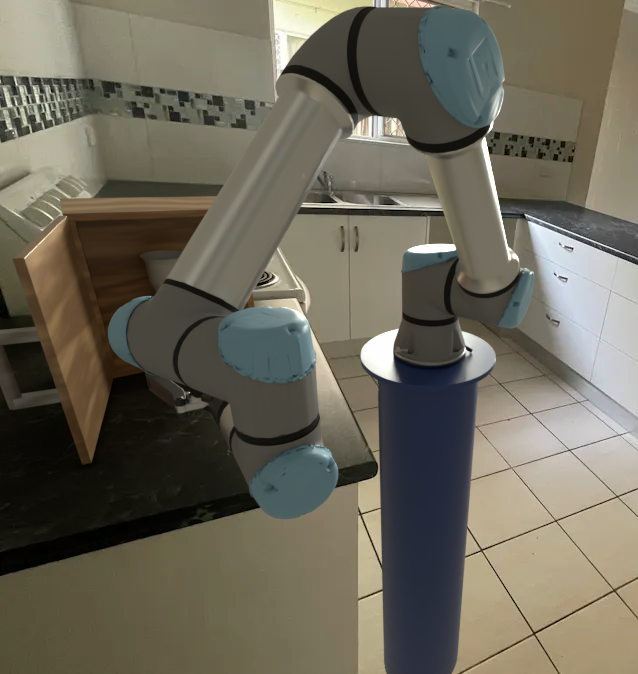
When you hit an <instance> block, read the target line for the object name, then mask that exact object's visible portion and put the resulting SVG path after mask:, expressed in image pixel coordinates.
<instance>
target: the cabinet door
mask: <svg viewBox="0 0 638 674" xmlns="http://www.w3.org/2000/svg"><path fill="white" fill-rule="evenodd" d="M12 262H13V266H14V267H15V271H16V274H17V277H18V280H19V283H20V285H21V288H22V292H23V294H24V297H25V300H26V304H27V307H28V309H29V312H30V315H31V318H32V322H33V325H34V326H28V327H17V328H9V329H7V328H5V329H0V389H1V392H2V394H3V396H4V398H5V402H6V404H7V406H8V410H11V411H17V410H22V409H29V408H34V407H39V406H41V407H42V406H47V405H53V404H58V403H59V404H61V407H62V410H63V413H64V415H65V418H66V422H67V425H68V427H69V430H70V433H71V436H72V439H73V442H74V445H75V448H76V450H77V454H78V456H79V459H80V462H81V465H83V466H84V465H88V464H92V463H93V462H92V461H93V459H94V454H95V451H96V447H97V444H98V439H99V434H100V432H101V427H102V423H103V420H104V418H105V417H104V416H105V413H106V408H107V405H108V402H109V397H110V394H111V389H112V385H113V382H114V378H113V377H112V374H111V370H110V367H109V363H108V359H107V356H106V352H105V349H104V345H103V342H102V338H101V335H100V331H99V327H98V324H97V320H96V317H95V313H94V310H93V306H92V303H91V299H90V295H89V292H88V288H87V285H86V281H85V278H84V274H83V271H82V267H81V263H80V260H79V256H78V253H77V249H76V246H75V242H74V239H73V235H72V231H71V228H70V224H69V221H68V217H67V216H63V215H57V217H56V218H54V220H52V221H51V222H50V223H49V224H48V225H47V226H46V227H45V228H44V229H42V231H40V233H38V234H37V235H36V236H35V237H34V238H33V239H32V240H30V242H29V243H28V244H26V245H25V246H24V248H22V249H21V250H20V251H19V252H18V253H17V254H15V256H14V257H13V258H12ZM35 342H36V343H37V342H40V345H41V347H42V351H43V354H44V356H45V360H46V362H47V365H48V368H49V371H50V374H51V377H52V380H53V383H54V385H55V388H51V389H45V390H37V391H31V392H30V391H29V392H24V393H21V390H20V388H19V384H18V382H17V380H16V377H15V374H14V371H13V369H12V366H11V363H10V360H9V358H8V355H7V352H6V350H5V347H4V346H6V345H7V346H8V345H16V344H17V345H18V344H25V343H35Z"/></svg>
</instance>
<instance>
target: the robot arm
mask: <svg viewBox="0 0 638 674" xmlns="http://www.w3.org/2000/svg"><path fill="white" fill-rule="evenodd" d="M504 71H505V69H504V62H503V56H502V53H501V50H500V45H499V43H498V40H497V37H496V35H495V34H494V32H493V29H492V28H491V26H490V25H489V23H488V22H487V21H486V20H485V19H483V18H482V17H480V15H479V14H478V13H477V12H475V11H472V10H469V9H463V8H452V7H450V6H446V5H434V6H432V7H431V6H430V7H428V6H426V7H424V6H423V7H420V6H419V7H418V6H417V7H415V6H414V7H411V6H409V7H406V6H405V7H404V6H401V7H399V6H396V7H395V6H393V7H392V6H389V7H388V6H379V7H376V6H373V5H371V6H369V5H367V6H365V5H363V6H356V7H352V8H350V9H347V10H344V11H342V12H340V13H338V14H337V15H335V16H333V17H331V18H330V19H328V21H326V22H325V23H324V24H322V25H321V26H320V27H319V28H317V29H316V30H315V31H314V32H313V33H311V35H310V36H309V37H308V38H307V39H306V40H305V41H304V42H303V43H302V44H301V45H300V46H299V48H298V49H297V50H296V51H295V52H294V53H293V55H292V56H291V57H290V59H289V61H287V64H286V65H285V67H284V68H283V70H282V72H281V73H280V74H279V76H278V78H277V80H276V82H275V85H274V87H275V92H276V95H277V98H276V100H275V102H274V104H273V105H272V107H271V108H270V110H269V111H268V114H267V115H266V116H265V118H264V120H263V121H262V123H261V125H260V126H259V128H258V129H257V130H256V132H255V134H254V135H253V138H251V140H250V141H249V144H248V145H247V147H246V149H245V150H244V152H243V153H242V155H241V157H240V158H239V160H238V161H237V162H236V165H235V166H234V168H233V169H232V171H231V173H230V174H229V176H228V177H227V179H226V181H225V182H224V184H223V186H222V187H221V189H220V190H219V192H218V193H217V195H216V196H217V197H216V198H215V200H214V202H213V203H212V205H211V206H210V208H209V210H208V211H207V213H206V214H205V216H204V218H203V219H202V221H201V222H200V224H199V226H198V227H197V229H196V231H195V232H194V234H193V235H192V237H191V239H190V240H189V242H188V243H187V245H186V247H185V248H184V250H183V251H182V253H181V255H180V256H179V258H178V259H177V261H176V263H175V264H174V266H173V267H172V269H171V271H170V272H169V274H168V275H167V277H166V279H165V281H164V283H163V284H162V285H161V287H160V288H159V290H158V291H157V293H156V294H155V296H144V297H139V298H135V299H133V300H131V301H130V302H128V303H126V304H125V305H123V306H122V307H120V308H119V309H118V310H117V311H116V312H115V314H114V315H113V317H112V318H111V321H110V323H109V327H108V339H109V343H110V346H111V348H112V349H113V351H114V352H115V353H116V354H117V356H119V357H120V358H121V359H122V360H124V361H126V362H128V363H129V364H131V365H133V366H136V367H138V368H140V369H142V370H144V372H143V373H144V376H145V379H146V383H147V387H148V390H149V391H150V392H151V393H152V394H154V395H155V396H156V397H158V398H159V399H160V400H162V401H163V402H165V404H167V405H169V407H171V408H172V409H174V410H175V413H176V417H177V419H179V420H184V419H187V418H189V417H190V416H191V415H190V412H192V411H196V410H202V409H204V410H205V411H207V412H210V413H211V415H212V417H213V419H214V421H215V423H216V425H217V427H218V428H219V431H220V433H221V435H222V437H223V439H224V441H225V443H226V445H227V447H228V448H229V451H230V453H231V454H232V456H233V457H234V460H235V461H236V463H237V466H238V468H239V469H240V472H241V473H242V475H243V477H244V480H245V482H246V485H247V486H248V491H249V494H250V497H251V498H253V499H254V501H255V502H256V503H257V505H258V506H259V507H260V509H261V510H262V511H263V512H264V514H266V515H267V516H269V517H271V518H274V519H277V520H293V519H298V518H300V517H303V516H306V515H307V514H310V513H313V512H314V511H315V510H317V509H318V508H320V507H321V506H322V505H324V503H325V502H327V500H328V499H329V498H330V496H331V495H332V494H333V492H334V491H335V488H336V487H337V484H338V480H339V468H338V465H337V463H336V461H335V459H334V458H333V453H332V452H331V450H330V449H329V448H328V447H326V446H325V445H324V441H323V432H322V422H321V414H320V409H319V396H318V381H317V366H316V363H317V353H316V350H315V349H314V344H313V338H312V331H311V325H310V322H309V320H308V318H306V316H305V315H304V314H303V313H301V312H300V311H297V310H295V309H292V308H289V307H284V306H278V307H271V306H269V305H262V306H261V305H260V306H255V307H253V308H247V309H243V308H244V307H245V305H246V303H247V301H248V300H249V298H250V296H251V294H252V292H253V293H254V290H255V289H256V287H257V286H258V283H259V282H260V280H261V278H262V277H263V275H264V274H265V271H266V269H267V267H268V266H269V264H270V262H271V261H272V258H273V257H274V255H275V253H276V252H277V250H278V248H279V246H280V245H281V242H283V239H284V238H285V235H286V234H287V232H288V231H289V229H290V227H291V225H292V223H293V221H294V219H295V218H296V216H297V214H298V212H299V211H300V209H301V207H302V205H303V204H304V202H305V200H306V198H307V196H308V195H309V193H310V192H311V189H312V187H313V186H314V184H315V182H316V181H317V179H318V177H319V175H320V173H321V171H322V170H323V168H324V167H325V164H326V163H327V161H328V159H329V157H330V156H331V154H332V151H333V150H334V148H335V146H336V145H337V143H338V142H339V141H342V140H347V139H349V138H350V137H351V136H352V135H353V133H354V132H355V129H356V128H357V126H358V124H359V123H360V122H361V121H363V120H365V119H367V118H371V117H381V118H387V119H388V118H390V119H397V120H398V121H399V122H400V124H401V127H402V131H403V132H404V135H405V138H406V141H407V143H408V146H410V148H412V149H413V150H414V151H416V152H418V153H421V154H423V155H424V158H425V161H426V165H427V168H428V170H429V173H430V176H431V179H432V183H433V185H434V188H435V191H436V194H437V197H438V200H439V203H440V206H441V209H442V212H443V215H444V218H445V221H446V224H447V228H448V230H449V233H450V236H451V239H452V242H453V244H452V243H451V244H449V243H432V244H423V245H422V244H421V245H417V246H413V247H411V248H408V249H407V250H406V251H404V253H403V254H402V263H401V270H400V273H401V321H400V323H399V327H398V328H397V329H398V332H397V335H396V338H395V340H394V344H393V355H394V357H395V358H396V359H397V360H398V361H399V362H401V363H403V364H405V365H407V366H411V367H415V368H421V369H440V368H446V367H450V366H453V365H455V364H458V363H459V362H461V361H462V360H463V359H464V357H465V350H467V351H469V352H472V351H473V349H471V348H469V347H468V346H466V345H465V342H464V338H463V335H462V331H463V330H462V327H461V325H460V320H459V319H460V318H464V319H469V320H472V321H476V322H480V323H483V324H487V325H491V326H494V327H495V326H496V327H497V328H505V329H514V328H517V327H518V326H519V325H520V324H521V323H522V321H523V320H524V318H525V316H526V313H527V311H528V310H529V305H530V303H531V300H532V296H533V292H534V288H535V273H534V271H532V270H531V269H528V267H524V268H523V267H521V264H520V260H519V257H518V254H517V253H516V252H515V251H514V250H513V249H512V248H510V247H509V246H508V243H507V238H506V232H505V228H504V224H503V219H502V214H501V210H500V203H499V198H498V193H497V189H496V184H495V178H494V173H493V170H492V164H491V160H490V155H489V149H488V146H487V140H486V137H487V136H488V134H489V133H490V132H491V130H492V129H493V125H494V121H495V120H496V119H497V117H498V116H499V113H500V112H501V108H502V105H503V101H504V95H505V88H504V87H503V82H504V81H505V72H504ZM191 394H194V395H197V396H199V397H196V396H194V395H191Z"/></svg>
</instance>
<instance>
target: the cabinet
mask: <svg viewBox="0 0 638 674" xmlns="http://www.w3.org/2000/svg"><path fill="white" fill-rule="evenodd" d="M216 197H217V195H215V196H211V195H210V196H208V195H207V196H149V197H148V196H147V197H146V196H143V197H141V196H139V197H137V196H136V197H81V198H80V197H78V198H75V197H73V198H72V197H71V198H69V197H68V198H66V197H65V198H59V202H60V207H61V208H60V209H61V213H62V216H67V217H68V221H69V224H70V228H71V231H72V235H73V239H74V242H75V246H76V249H77V253H78V256H79V260H80V263H81V267H82V271H83V274H84V278H85V281H86V285H87V288H88V292H89V295H90V299H91V303H92V306H93V310H94V313H95V317H96V320H97V324H98V327H99V331H100V335H101V338H102V342H103V345H104V349H105V352H106V356H107V359H108V363H109V367H110V370H111V374H112V377H113V379H118V378H122V377H127V376H133V375H136V374H137V375H138V374H141V373H145V372H144V370H142V369H140V368H138V367H136V366H133V365H131V364H129V363H128V362H126V361H124V360H122V359H121V358H120V357H119V356H117V354H116V353H115V352H114V351H113V349H112V348H111V346H110V343H109V339H108V327H109V323H110V321H111V318H112V317H113V315H114V314H115V312H116V311H117V310H118V309H119V308H120V307H122V306H123V305H125V304H126V303H128V302H130V301H131V300H133V299H135V298H139V297H144V296H155V294H156V293H157V292H156V291H155V289H154V288H153V287H152V285H151V284H150V282H149V278H148V274H147V270H146V265H145V262H144V261H143V259H142V258H141V257H140V255H141V254H143V253H146V252H151V251H160V250H176V251H183V250H184V248H185V247H186V245H187V243H188V242H189V240H190V239H191V237H192V235H193V234H194V232H195V231H196V229H197V227H198V226H199V224H200V222H201V221H202V219H203V218H204V216H205V214H206V213H207V211H208V210H209V208H210V206H211V205H212V203H213V202H214V200H215V198H216ZM253 307H256V306H255V299H254V291H253V292H252V294H251V296H250V298H249V300H248V301H247V303H246V305H245V307H244V308H243V309H247V308H253Z"/></svg>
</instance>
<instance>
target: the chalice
mask: <svg viewBox="0 0 638 674" xmlns="http://www.w3.org/2000/svg"><path fill="white" fill-rule="evenodd" d="M181 253H182V251H176V250H160V251H151V252H146V253H143V254H141V255H140V257H141V258H142V259H143V261H144V262H145V265H146V270H147V274H148V278H149V282H150V284H151V285H152V287H153V288H154V289H155V291H156V292H157V291H158V290H159V288H160V287H161V285H162V284H163V283H164V281H165V279H166V277H167V275H168V274H169V272H170V271H171V269H172V267H173V266H174V264H175V263H176V261H177V259H178V258H179V256H180V255H181Z"/></svg>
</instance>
